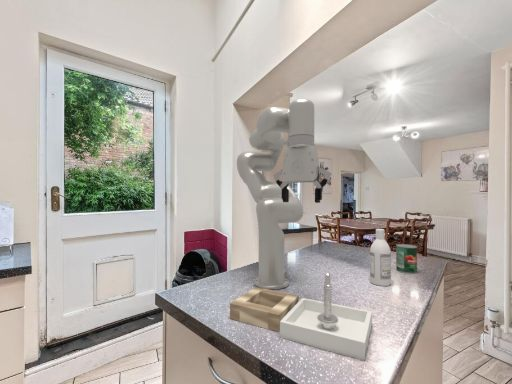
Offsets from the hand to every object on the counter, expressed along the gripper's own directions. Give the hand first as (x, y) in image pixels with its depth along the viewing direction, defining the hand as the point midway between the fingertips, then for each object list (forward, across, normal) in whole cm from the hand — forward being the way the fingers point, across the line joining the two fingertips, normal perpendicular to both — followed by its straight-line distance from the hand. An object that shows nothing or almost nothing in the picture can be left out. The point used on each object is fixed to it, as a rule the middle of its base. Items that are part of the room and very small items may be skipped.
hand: (301, 202), depth 76 cm
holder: (+30, -7, -9) cm, 32 cm away
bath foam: (+31, +19, +34) cm, 49 cm away
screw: (+30, +10, -10) cm, 33 cm away
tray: (+30, +10, -10) cm, 33 cm away
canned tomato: (+31, +28, +57) cm, 70 cm away
